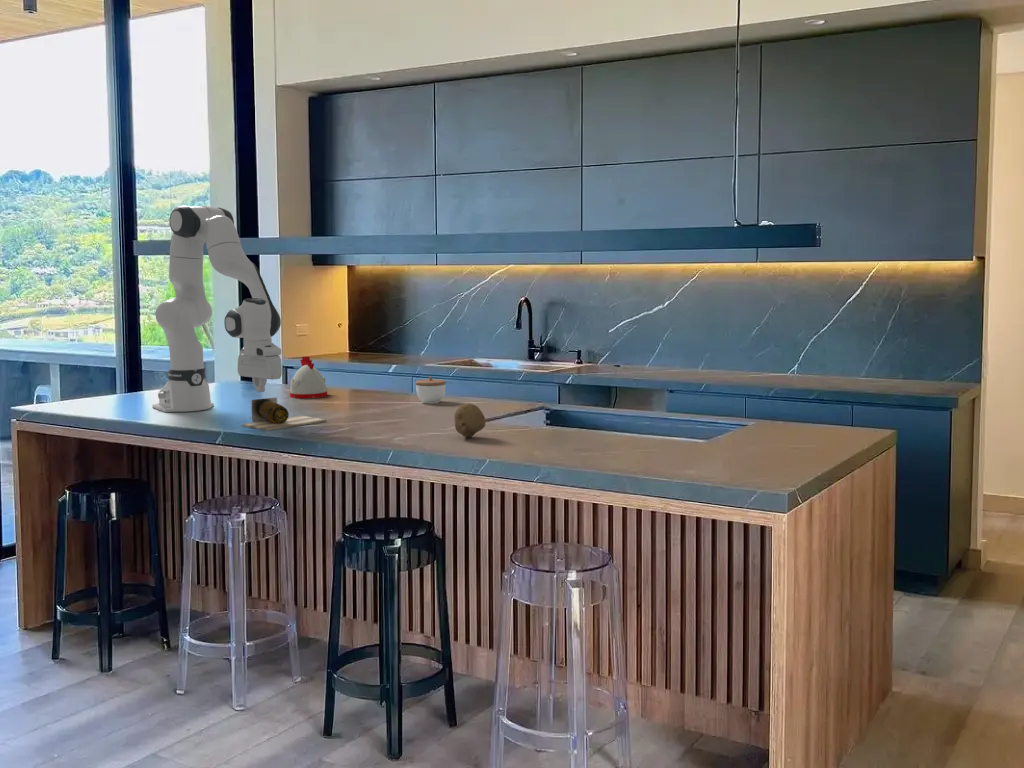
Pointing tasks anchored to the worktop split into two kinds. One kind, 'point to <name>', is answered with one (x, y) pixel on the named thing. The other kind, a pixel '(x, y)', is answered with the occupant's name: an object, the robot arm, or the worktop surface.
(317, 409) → the worktop surface
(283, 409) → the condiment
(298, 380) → the kitchen timer
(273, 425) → the wooden cutting board
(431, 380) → the lidded jar
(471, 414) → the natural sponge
